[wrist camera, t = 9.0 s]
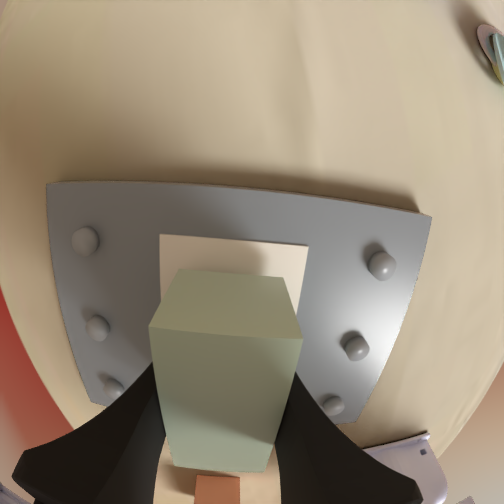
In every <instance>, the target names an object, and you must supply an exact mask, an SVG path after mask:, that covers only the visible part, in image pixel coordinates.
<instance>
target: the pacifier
mask: <svg viewBox="0 0 504 504" xmlns="http://www.w3.org/2000/svg"><path fill="white" fill-rule="evenodd" d="M477 35H478V39H479V42H480V45H481V46H482V48H483V50H484V52H485V54H486V55H487V56H488V58H489V59H490V61H491V64H492V68H493V70H494V72H495V74H496V76H497V78H498V79H499V80H500V82H501V83H502V84H503V85H504V34H503V33H502V32H501V31H499V30H498V29H496V28H494V27H492V26H490V25H486V24H482V25H480V26H479V27H478V29H477ZM489 36H492V37H493V43H494V50H495V53H494V51H493V50H492V48H491V45H490V42H489Z"/></svg>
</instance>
